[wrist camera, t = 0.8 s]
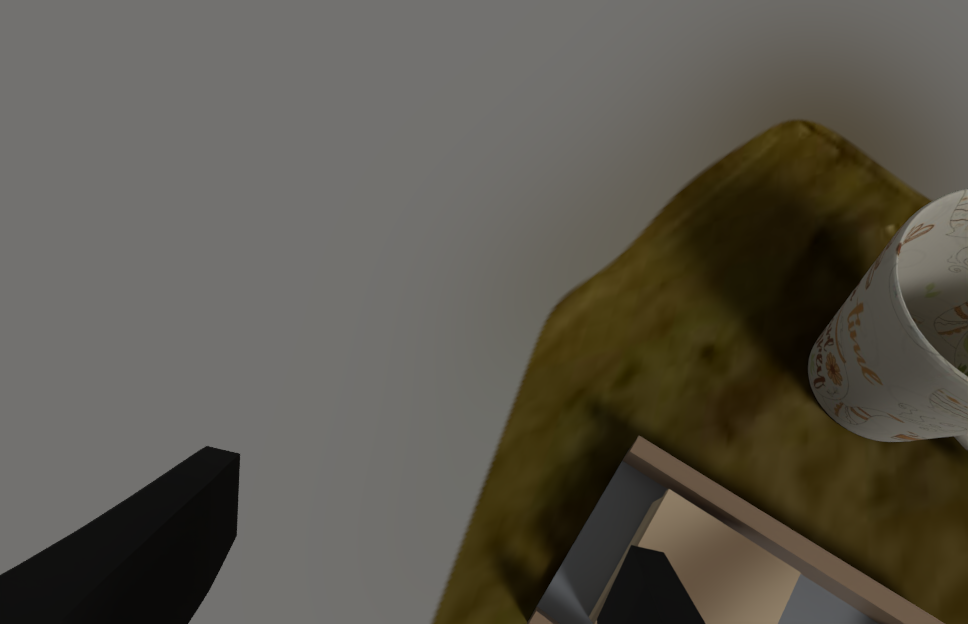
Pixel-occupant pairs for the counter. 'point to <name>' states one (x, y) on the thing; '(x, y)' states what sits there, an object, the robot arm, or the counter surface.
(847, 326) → the mug
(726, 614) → the tan wooden block
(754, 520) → the bay
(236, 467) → the robot arm
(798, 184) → the counter surface
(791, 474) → the counter surface
